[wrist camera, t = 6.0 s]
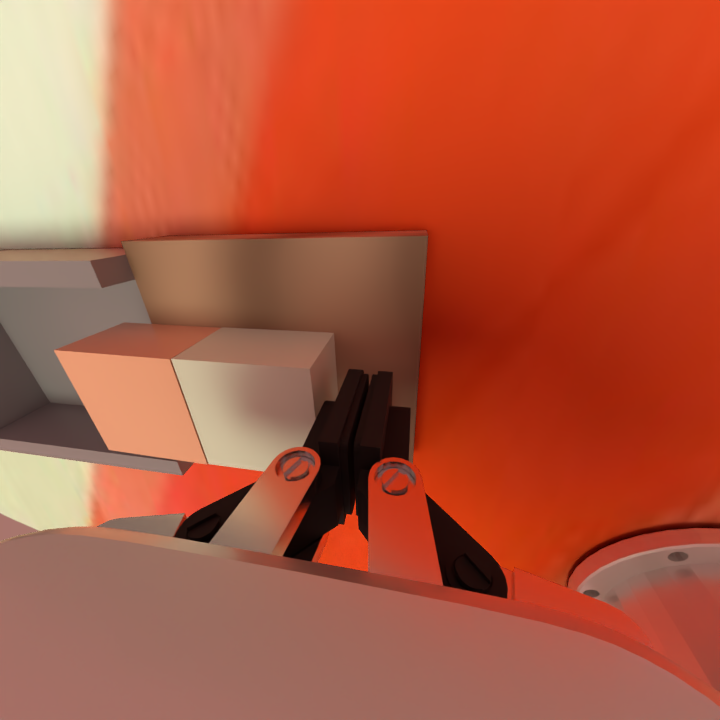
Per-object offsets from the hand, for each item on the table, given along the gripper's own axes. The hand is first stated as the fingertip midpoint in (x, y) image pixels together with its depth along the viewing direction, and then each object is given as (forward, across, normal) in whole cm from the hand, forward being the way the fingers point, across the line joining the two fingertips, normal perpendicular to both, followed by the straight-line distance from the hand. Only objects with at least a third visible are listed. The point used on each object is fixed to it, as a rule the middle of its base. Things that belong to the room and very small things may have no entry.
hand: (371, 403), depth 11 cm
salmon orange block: (+2, +9, 0) cm, 9 cm away
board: (+4, +4, 0) cm, 6 cm away
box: (+4, +17, 0) cm, 18 cm away
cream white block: (+2, +4, 0) cm, 4 cm away
